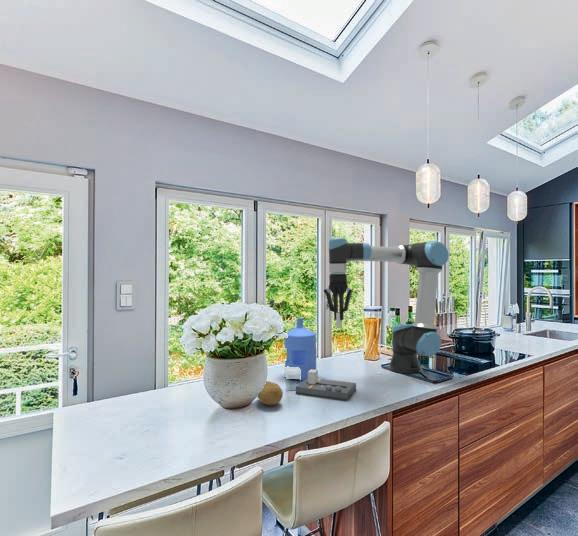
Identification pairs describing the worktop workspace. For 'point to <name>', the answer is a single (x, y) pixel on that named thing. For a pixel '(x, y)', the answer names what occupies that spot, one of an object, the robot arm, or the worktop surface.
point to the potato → (270, 393)
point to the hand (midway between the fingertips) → (339, 327)
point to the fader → (312, 376)
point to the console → (327, 389)
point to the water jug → (301, 349)
